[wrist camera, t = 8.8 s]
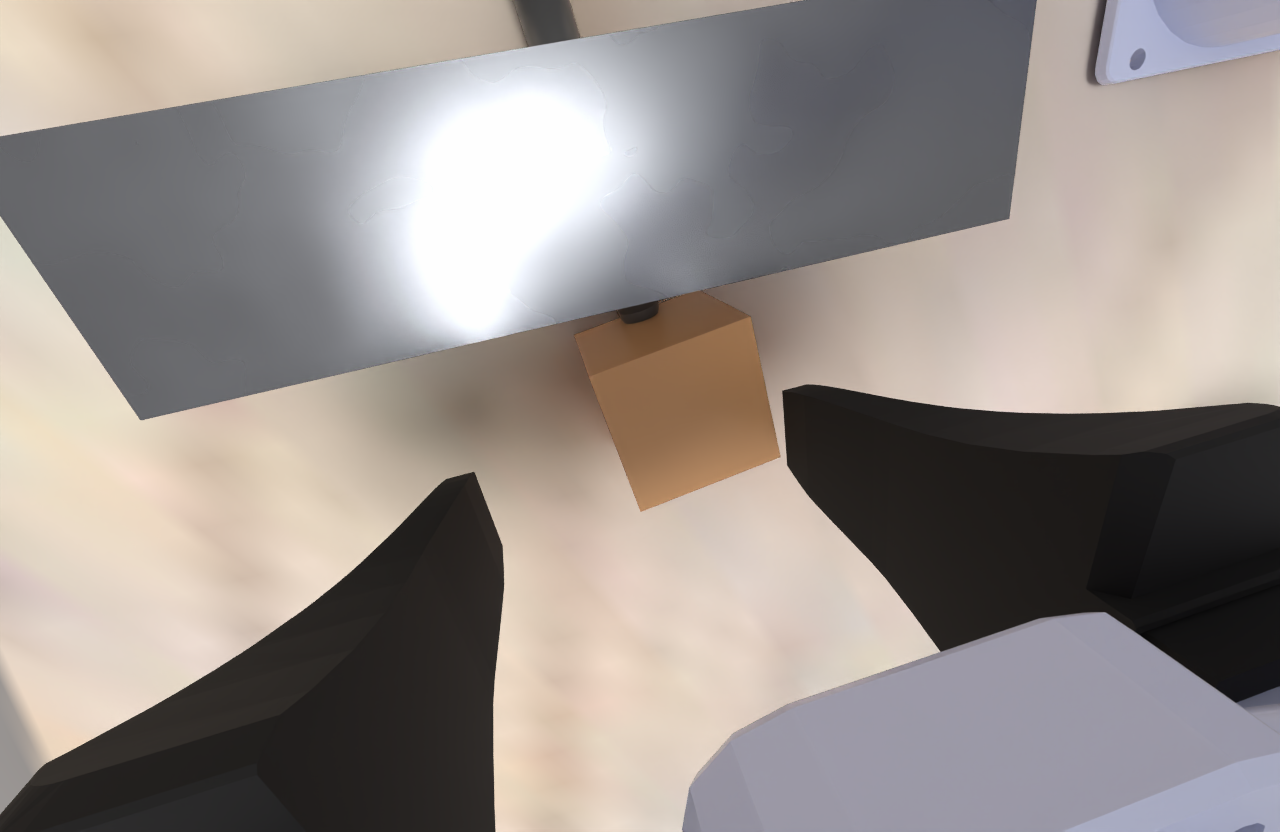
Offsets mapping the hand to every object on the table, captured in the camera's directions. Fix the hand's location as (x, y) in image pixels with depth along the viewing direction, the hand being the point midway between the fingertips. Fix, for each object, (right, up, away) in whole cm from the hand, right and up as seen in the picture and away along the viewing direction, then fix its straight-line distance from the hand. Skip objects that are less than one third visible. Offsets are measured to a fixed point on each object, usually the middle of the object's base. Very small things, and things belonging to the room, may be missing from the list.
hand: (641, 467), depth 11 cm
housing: (-2, +7, +2) cm, 8 cm away
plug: (-1, +7, +2) cm, 7 cm away
